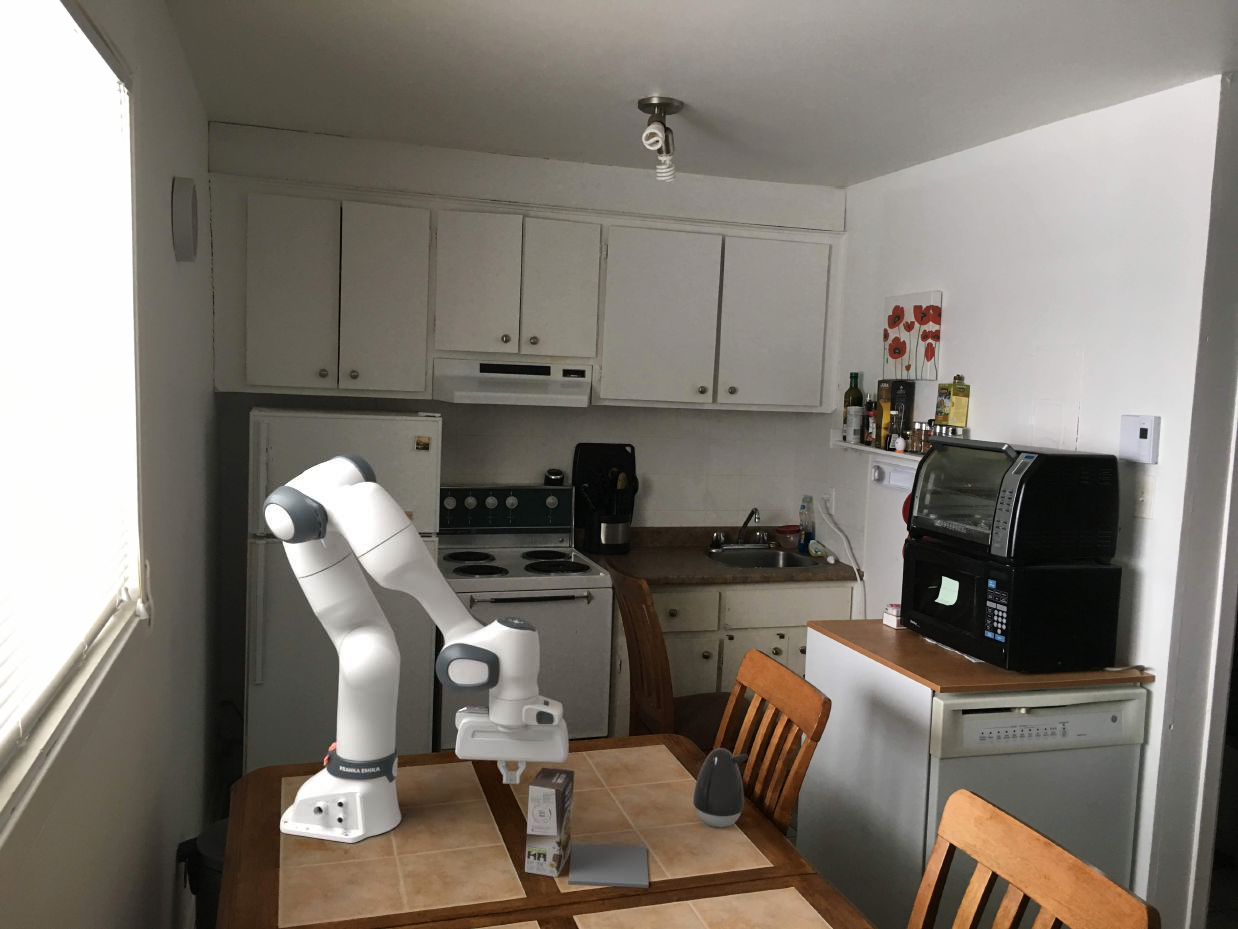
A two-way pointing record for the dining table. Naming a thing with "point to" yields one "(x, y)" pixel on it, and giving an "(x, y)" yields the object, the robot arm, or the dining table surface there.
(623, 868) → the mat
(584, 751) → the dining table surface
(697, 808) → the pump dispenser
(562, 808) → the coffee box
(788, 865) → the dining table surface
